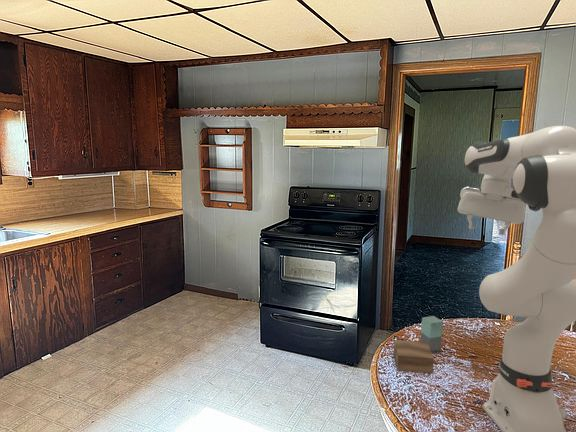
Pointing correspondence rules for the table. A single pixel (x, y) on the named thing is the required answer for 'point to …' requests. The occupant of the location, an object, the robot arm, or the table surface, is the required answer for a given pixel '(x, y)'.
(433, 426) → the table surface
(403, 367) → the walnut stand
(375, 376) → the table surface
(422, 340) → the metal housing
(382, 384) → the table surface
